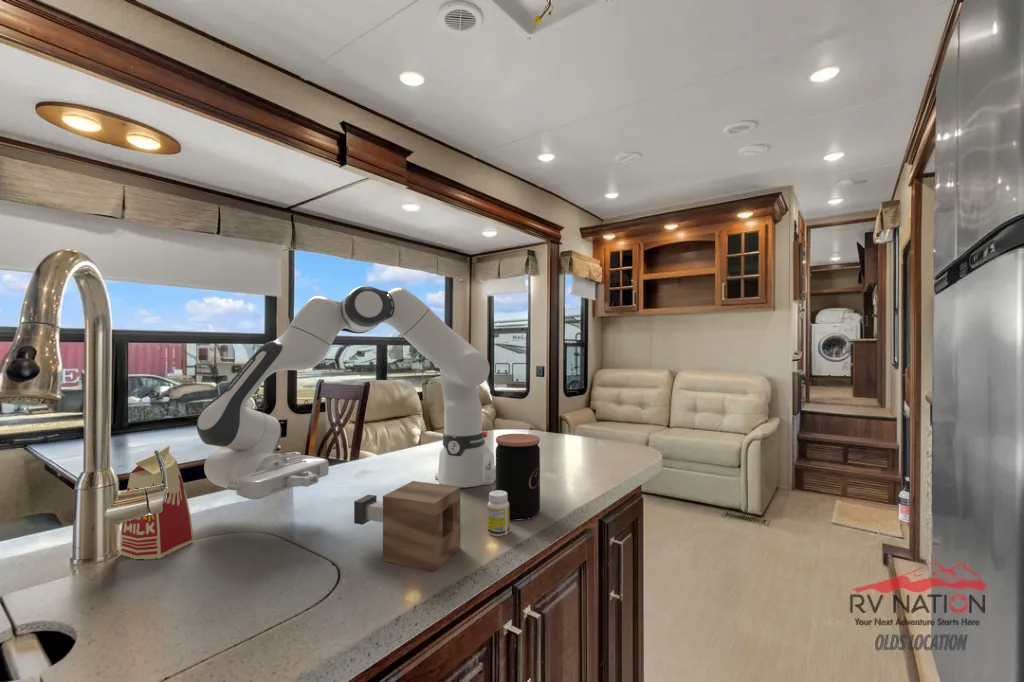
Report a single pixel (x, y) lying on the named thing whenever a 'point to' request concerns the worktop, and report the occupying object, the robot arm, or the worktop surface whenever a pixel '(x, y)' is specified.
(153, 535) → the milk carton
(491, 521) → the supplement bottle
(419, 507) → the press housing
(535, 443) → the coffee jar
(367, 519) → the plunger
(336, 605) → the worktop surface
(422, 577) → the worktop surface
